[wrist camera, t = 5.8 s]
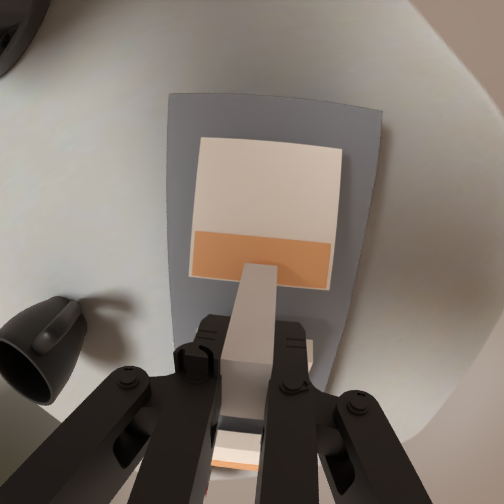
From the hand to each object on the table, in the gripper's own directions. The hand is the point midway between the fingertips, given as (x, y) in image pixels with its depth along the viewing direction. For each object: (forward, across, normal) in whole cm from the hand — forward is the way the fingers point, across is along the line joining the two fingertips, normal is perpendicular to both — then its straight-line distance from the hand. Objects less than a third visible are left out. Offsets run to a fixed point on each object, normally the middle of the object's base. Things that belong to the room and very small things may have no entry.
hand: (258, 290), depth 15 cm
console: (+10, 0, -8) cm, 13 cm away
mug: (+10, -19, -11) cm, 24 cm away
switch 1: (+4, 0, -19) cm, 19 cm away
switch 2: (+4, 0, +3) cm, 5 cm away
